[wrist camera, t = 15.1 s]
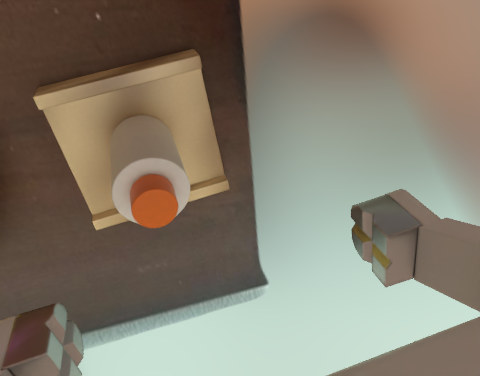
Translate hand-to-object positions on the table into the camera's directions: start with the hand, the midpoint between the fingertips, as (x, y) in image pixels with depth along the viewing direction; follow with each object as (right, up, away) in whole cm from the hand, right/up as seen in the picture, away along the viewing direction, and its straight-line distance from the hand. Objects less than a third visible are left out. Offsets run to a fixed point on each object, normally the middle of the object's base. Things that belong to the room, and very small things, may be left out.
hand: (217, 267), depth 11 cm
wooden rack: (-8, +6, +23) cm, 25 cm away
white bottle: (-7, +6, +21) cm, 23 cm away
